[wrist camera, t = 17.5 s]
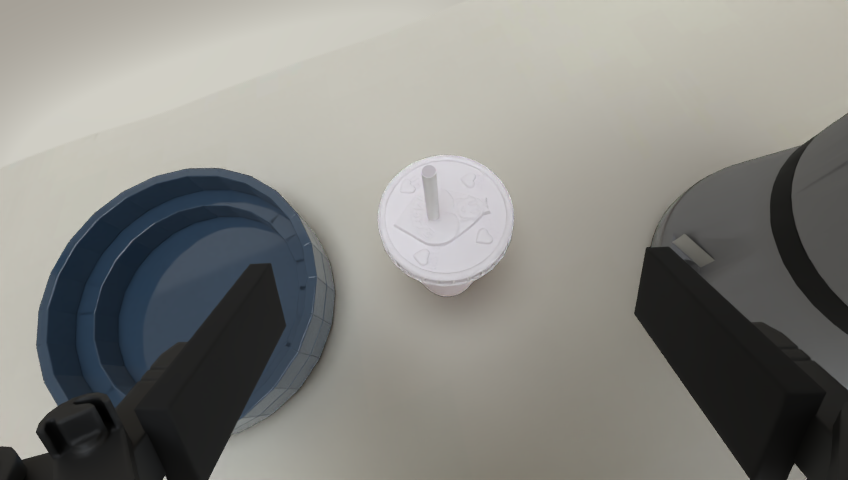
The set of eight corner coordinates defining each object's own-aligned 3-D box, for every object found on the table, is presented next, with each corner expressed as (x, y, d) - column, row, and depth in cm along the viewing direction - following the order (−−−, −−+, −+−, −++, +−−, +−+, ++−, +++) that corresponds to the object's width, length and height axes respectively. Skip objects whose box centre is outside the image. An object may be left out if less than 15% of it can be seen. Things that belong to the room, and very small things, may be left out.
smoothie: (391, 235, 30) (345, 113, 17) (482, 216, 30) (506, 79, 17) (409, 326, 28) (371, 269, 15) (506, 306, 28) (556, 230, 15)
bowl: (385, 310, 28) (374, 296, 24) (180, 502, 25) (126, 525, 21) (244, 157, 33) (213, 122, 29) (56, 305, 30) (-10, 291, 26)
